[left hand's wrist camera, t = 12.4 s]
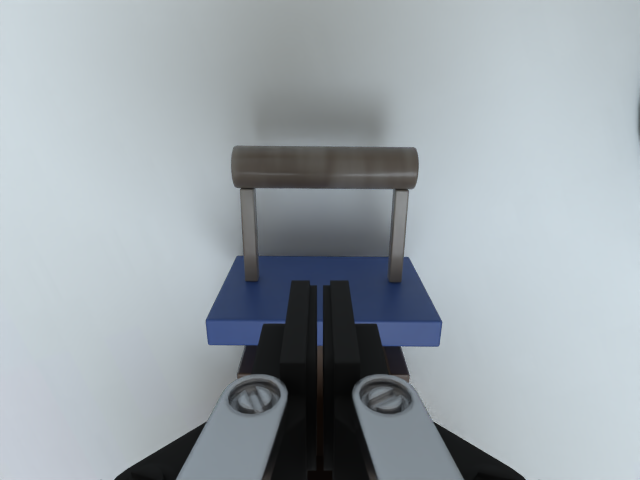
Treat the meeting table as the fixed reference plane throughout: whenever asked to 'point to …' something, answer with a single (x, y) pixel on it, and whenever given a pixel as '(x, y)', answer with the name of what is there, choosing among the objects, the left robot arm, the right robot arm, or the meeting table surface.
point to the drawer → (324, 260)
